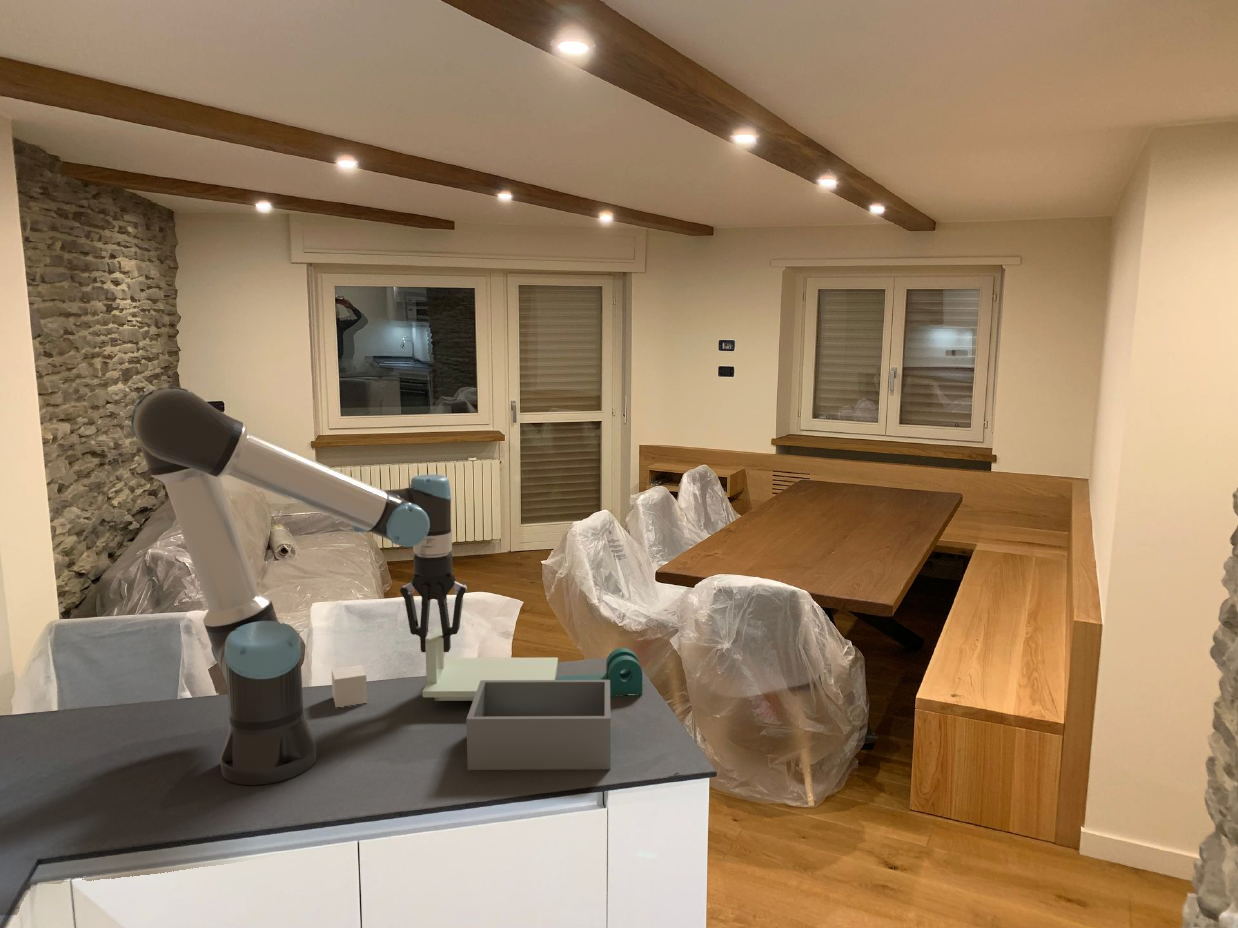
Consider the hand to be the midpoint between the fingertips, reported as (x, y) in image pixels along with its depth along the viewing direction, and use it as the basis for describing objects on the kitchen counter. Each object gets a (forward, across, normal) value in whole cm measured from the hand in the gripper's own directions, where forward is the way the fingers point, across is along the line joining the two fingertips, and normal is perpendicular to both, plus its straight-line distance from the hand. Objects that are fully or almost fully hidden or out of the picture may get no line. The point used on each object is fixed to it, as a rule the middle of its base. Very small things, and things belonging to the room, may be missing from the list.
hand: (436, 666), depth 181 cm
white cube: (+6, -17, -2) cm, 18 cm away
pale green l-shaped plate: (+4, +11, 0) cm, 12 cm away
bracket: (+7, +32, +2) cm, 33 cm away
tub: (+6, +23, -23) cm, 33 cm away
